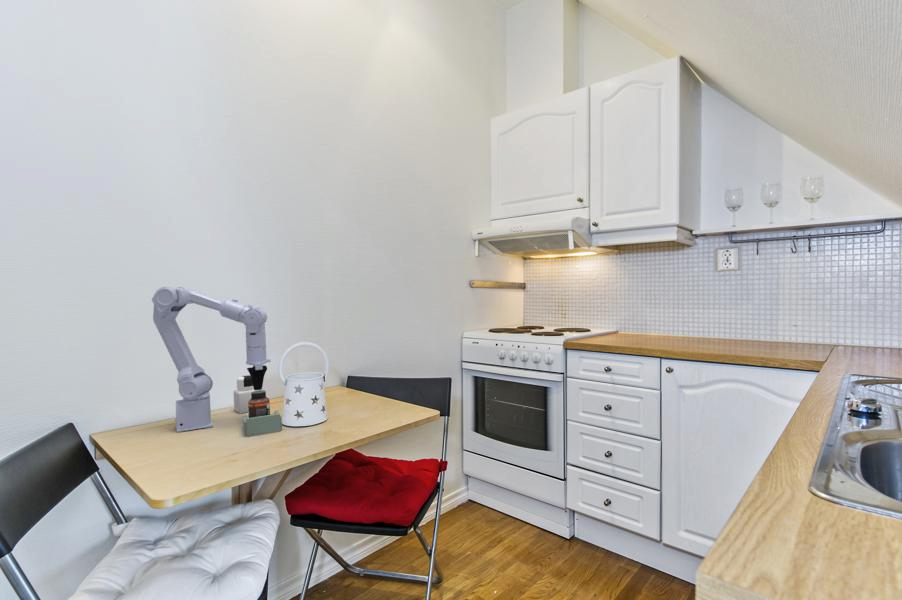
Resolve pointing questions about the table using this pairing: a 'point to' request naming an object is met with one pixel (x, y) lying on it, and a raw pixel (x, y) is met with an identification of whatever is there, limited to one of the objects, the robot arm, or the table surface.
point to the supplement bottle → (258, 404)
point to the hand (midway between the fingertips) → (257, 389)
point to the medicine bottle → (243, 394)
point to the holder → (262, 424)
